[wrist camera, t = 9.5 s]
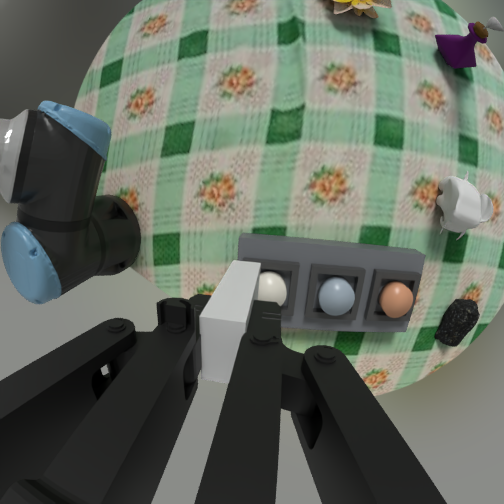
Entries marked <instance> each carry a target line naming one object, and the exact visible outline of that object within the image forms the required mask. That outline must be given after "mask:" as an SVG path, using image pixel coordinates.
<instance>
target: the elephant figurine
mask: <svg viewBox="0 0 504 504" xmlns="http://www.w3.org/2000/svg"><path fill="white" fill-rule="evenodd" d="M467 180H468V171H467V173H466V175H465V177H464V179H460V178H457V177H455V176H448V177H446V178H444V179H443V180H442V181H440V183H439V189H440V191H442V192H443V194H442V195H439V196H438V197H437V200H436V203H437V205H438V206H440V207H441V208H442V210H443V213H444V216H441V218H440V224H441V226H442V229H441V231H440V234H441V232H442V230H443V228H444V229H447V230H450V231H453V232H457V233H459V232H462V233H461V235H460V236H459V237H458V238H457V240H458V239H459V238H460V237H462V236H463V235H464V234H465V232H466V230H467V229H473V228H475V227H477V226H478V225H479V224H480V223H482V222H485V221H487V220H489V219H490V217H491V216H492V213H493V204H492V201H491V199H490V198H489V197H488V196H487V195H486V194H481V196H480V194H479V192H478V191H477V189H476V188H475V187H474V186H473V185H472V184H471V183H469V182H468V181H467ZM439 236H440V235H439Z"/></svg>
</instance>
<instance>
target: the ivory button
mask: <svg viewBox="0 0 504 504" xmlns="http://www.w3.org/2000/svg"><path fill="white" fill-rule="evenodd" d="M286 294H287V292H286V282H285V280H284V278H283V277H282V276H281V275H280V274H278V273H276V272H273V271H264V272H261V273H260V280H259V291H258V300H261V301H271V302H277V303H278V304H279V306H281V305H282V304H283V303H284V301H285V299H286Z"/></svg>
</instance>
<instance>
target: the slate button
mask: <svg viewBox="0 0 504 504" xmlns="http://www.w3.org/2000/svg"><path fill="white" fill-rule="evenodd" d="M318 298H319V302H320V305H321V308H322V309H323V311H324V312H326V313H327V314H329V315H334V316H337V315H342V314H344V313H346V312H347V311H349V310H350V309H351V307H352V306H353V304H354V300H355V294H354V291H353V289H352V288H351V286H350V284H349V283H348V282H347V280H345V279H344V278H342V277H330V278H328V279H326V280H325V281H324V282H323V283H322V284H321V285H320V287H319V289H318Z"/></svg>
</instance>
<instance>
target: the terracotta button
mask: <svg viewBox="0 0 504 504" xmlns="http://www.w3.org/2000/svg"><path fill="white" fill-rule="evenodd" d="M378 300H379V304H380V306H381V308H382V309H383V310H384V312H385V313H386V315H388V316H389V317H392V318H398V317H401V316H403V315H405V314H406V313H407V312H408V311H409V309H410V308H411V306H412V303H413V294H412V292H411V291H410V290H409V289H408V288H407V287H406V286H405V285H404V284H403V283H402V282H399V281H392V282H389V283H388V284H386V285H385V286H384V287H383V288H382V290H381V291H380V294H379V299H378Z"/></svg>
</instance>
